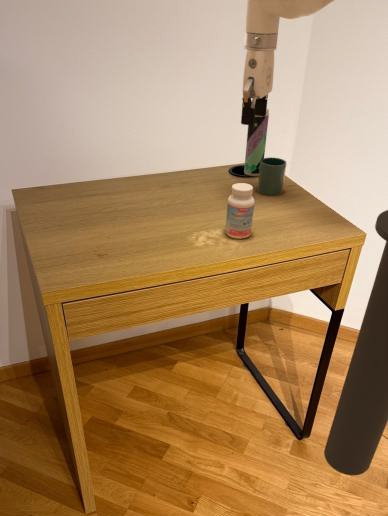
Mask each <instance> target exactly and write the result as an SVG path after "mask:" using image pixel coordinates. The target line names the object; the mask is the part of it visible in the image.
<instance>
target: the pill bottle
mask: <svg viewBox="0 0 388 516" xmlns="http://www.w3.org/2000/svg"><path fill="white" fill-rule="evenodd" d="M253 193H254V187H253V186H252V185H251V184H249V183H245V182H237V183H233V184H232V186H231V194H230V195H229V197H228V198H227V205H226V218H225V230H224V231H225V234H226V235H227V236H228V237H230V238H233V239H240V240H241V239H246V238H248V237H250V236H251V234H252V230H253V229H252V227H253V218H254V210H255V198H254V197H253V196H252V195H253Z"/></svg>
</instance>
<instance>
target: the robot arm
mask: <svg viewBox="0 0 388 516" xmlns="http://www.w3.org/2000/svg"><path fill="white" fill-rule="evenodd" d="M334 1H335V0H247V4H246V17H245V18H246V19H245V20H246V21H245V31H244V32H245V33H244V44H243V49H244V50H246V55H245V60H244V70H243V77H242V78H243V79H242V99H241V100H242V103H241V117H240V118H241V119H240V124H241V125H243V126H248V125H251V126H252V125H254V118H255V115H256V116H266V110H267V109H268V100H269V99H268V98H269V94H270V93H271V92H272V90H273V85H274V73H275V72H274V71H275V51H276V50H277V45H278V37H279V28H280V27H279V26H280V19H281V18H283V19H287V20H295V19H299V18H302V17H308V16H309V17H310V16H311V15H314V14H316V13H317V12H319V11H321V10H322V9H324V8H325V7H326V6H328V5H330V4H331V3H332V2H334Z"/></svg>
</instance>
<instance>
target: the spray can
mask: <svg viewBox="0 0 388 516" xmlns="http://www.w3.org/2000/svg"><path fill="white" fill-rule="evenodd" d="M269 116H270V109H269V108H267V110H266V116H256V115H255V118H254V125H252V126H251V125H247V133H246V147H245V157H244V169H243V172H244V175H246V176H250V177H259V171H260V162H261V160H262V159H264V158H265V155H266V154H265V152H266V145H267V144H266V143H267V136H268V135H267V134H268V127H269V118H270V117H269Z"/></svg>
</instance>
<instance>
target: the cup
mask: <svg viewBox="0 0 388 516" xmlns="http://www.w3.org/2000/svg"><path fill="white" fill-rule="evenodd" d="M286 170H287V161H286V160H285V159H283V158H279V157H264V159H262V160H261V162H260V171H259V176H258V180H257V181H258V182H257V192H258V193H259V194H262V195H265V196H271V197H272V196H279V195H281V194H282V193H283V190H284V184H285V177H286Z"/></svg>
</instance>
